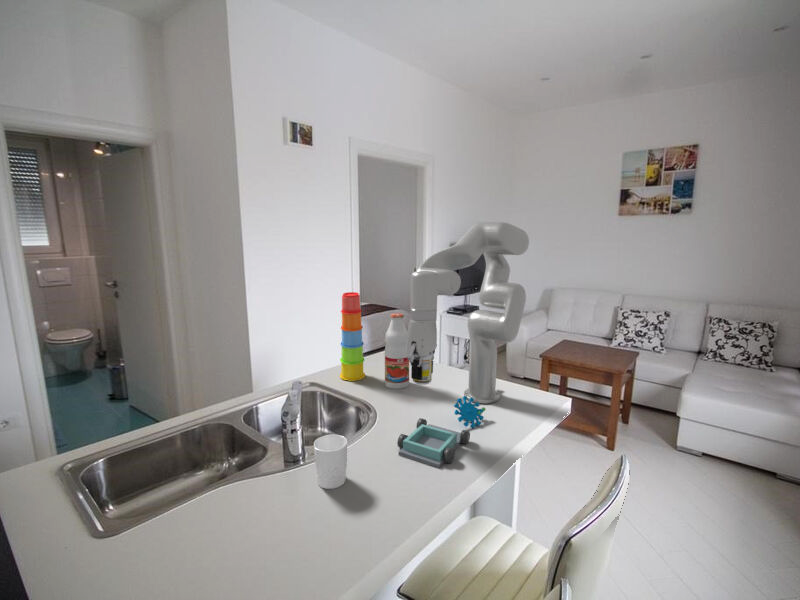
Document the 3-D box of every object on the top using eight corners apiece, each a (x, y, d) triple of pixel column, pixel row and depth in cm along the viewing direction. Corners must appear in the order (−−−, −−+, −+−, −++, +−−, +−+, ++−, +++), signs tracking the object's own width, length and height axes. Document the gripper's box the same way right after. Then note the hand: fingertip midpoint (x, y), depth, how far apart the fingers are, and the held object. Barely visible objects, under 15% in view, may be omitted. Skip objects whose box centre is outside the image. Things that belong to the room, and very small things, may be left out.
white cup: (320, 494, 94) (319, 454, 92) (311, 476, 101) (309, 438, 99) (352, 485, 98) (352, 446, 96) (341, 468, 104) (340, 431, 103)
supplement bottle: (420, 377, 123) (421, 344, 122) (435, 381, 120) (436, 347, 118) (408, 382, 119) (408, 348, 118) (423, 387, 116) (424, 352, 114)
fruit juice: (406, 379, 164) (406, 311, 159) (411, 388, 155) (411, 316, 150) (383, 381, 163) (382, 311, 158) (386, 390, 154) (386, 317, 149)
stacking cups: (370, 375, 169) (369, 292, 163) (354, 383, 160) (353, 295, 154) (350, 370, 174) (348, 290, 168) (334, 378, 166) (332, 293, 159)
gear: (460, 427, 122) (452, 395, 128) (451, 433, 127) (444, 403, 132) (491, 425, 127) (482, 394, 132) (481, 431, 131) (473, 402, 136)
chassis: (423, 425, 126) (424, 414, 126) (471, 438, 119) (471, 427, 118) (393, 453, 111) (393, 440, 111) (445, 470, 103) (445, 457, 103)
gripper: (426, 308, 125) (425, 365, 128) (395, 318, 111) (395, 382, 114) (448, 311, 121) (447, 370, 124) (419, 322, 107) (418, 388, 110)
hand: (422, 375), depth 119 cm, fingers closed on supplement bottle, 5 cm apart
